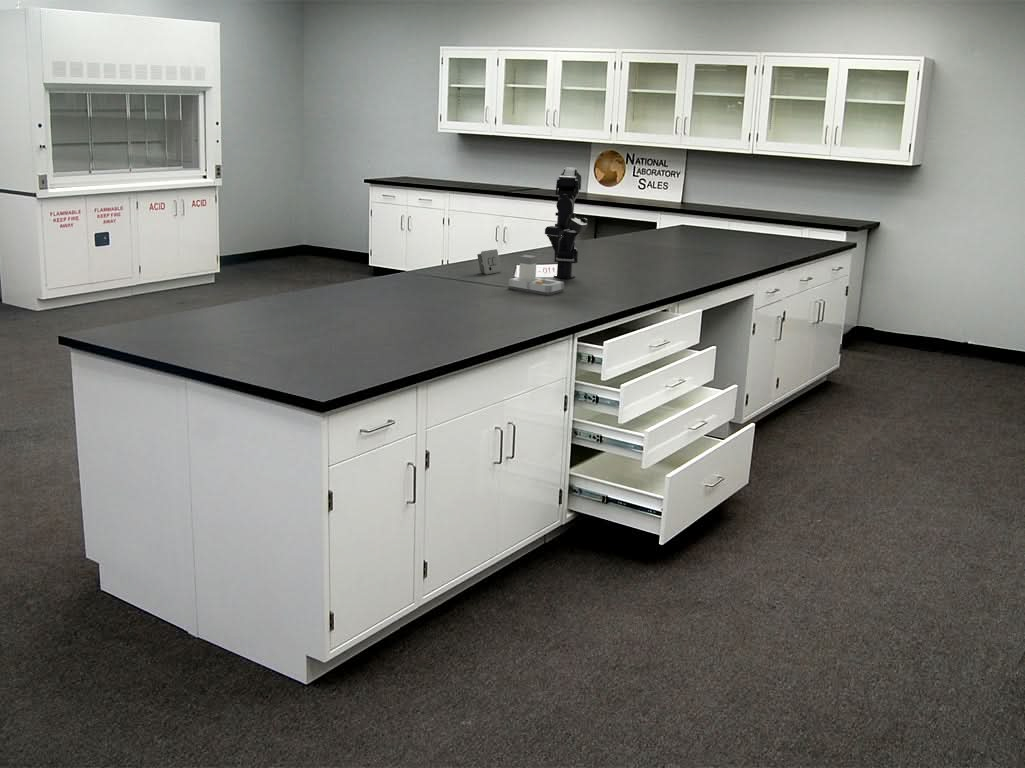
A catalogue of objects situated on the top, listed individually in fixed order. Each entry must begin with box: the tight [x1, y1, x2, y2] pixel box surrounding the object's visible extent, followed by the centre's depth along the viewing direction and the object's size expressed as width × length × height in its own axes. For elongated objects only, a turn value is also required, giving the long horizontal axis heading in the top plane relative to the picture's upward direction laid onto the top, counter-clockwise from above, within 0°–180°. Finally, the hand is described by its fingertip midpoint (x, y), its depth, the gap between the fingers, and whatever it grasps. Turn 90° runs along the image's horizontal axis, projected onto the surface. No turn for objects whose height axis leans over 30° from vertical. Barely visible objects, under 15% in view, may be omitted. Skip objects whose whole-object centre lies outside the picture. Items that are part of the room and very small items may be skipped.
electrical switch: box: [477, 248, 502, 275], centre depth 404 cm, size 9×5×9 cm, turn 141°
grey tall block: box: [518, 254, 537, 281], centre depth 375 cm, size 4×4×11 cm
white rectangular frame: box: [508, 276, 565, 296], centre depth 374 cm, size 10×18×4 cm, turn 56°
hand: (563, 252), depth 379 cm, fingers open, 9 cm apart
